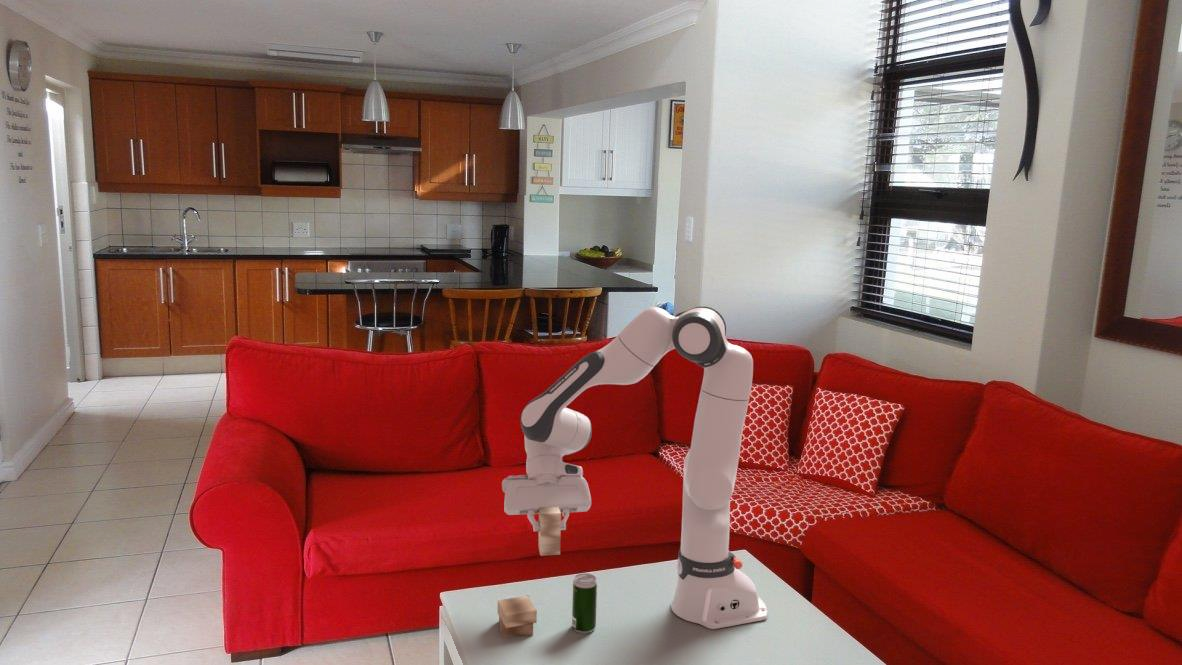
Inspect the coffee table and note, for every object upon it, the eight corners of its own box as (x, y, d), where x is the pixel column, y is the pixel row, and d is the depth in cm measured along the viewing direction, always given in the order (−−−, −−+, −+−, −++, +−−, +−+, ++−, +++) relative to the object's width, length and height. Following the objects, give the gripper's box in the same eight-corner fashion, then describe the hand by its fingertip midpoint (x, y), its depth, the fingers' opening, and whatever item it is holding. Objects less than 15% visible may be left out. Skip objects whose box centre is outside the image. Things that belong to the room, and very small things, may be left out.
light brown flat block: (529, 621, 192) (530, 609, 191) (532, 637, 185) (533, 624, 184) (499, 623, 190) (499, 610, 190) (501, 639, 184) (501, 626, 183)
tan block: (557, 546, 196) (558, 505, 194) (560, 554, 192) (560, 513, 190) (538, 547, 195) (538, 506, 193) (540, 555, 191) (541, 513, 189)
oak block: (527, 607, 192) (527, 595, 191) (536, 622, 185) (536, 610, 185) (497, 612, 189) (497, 600, 189) (505, 628, 183) (505, 615, 182)
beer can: (580, 636, 185) (581, 586, 183) (567, 626, 189) (568, 576, 187) (600, 630, 188) (602, 580, 186) (587, 619, 192) (588, 570, 190)
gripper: (502, 470, 195) (505, 526, 187) (588, 467, 199) (595, 522, 191) (500, 481, 200) (503, 537, 193) (585, 478, 204) (591, 533, 196)
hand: (549, 529), depth 192 cm, fingers closed on tan block, 4 cm apart
